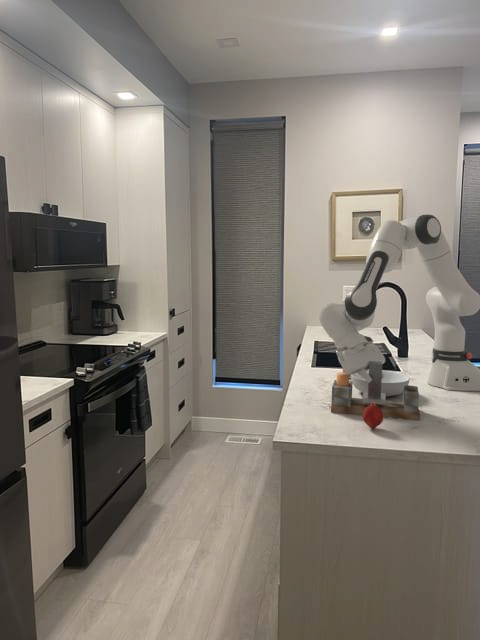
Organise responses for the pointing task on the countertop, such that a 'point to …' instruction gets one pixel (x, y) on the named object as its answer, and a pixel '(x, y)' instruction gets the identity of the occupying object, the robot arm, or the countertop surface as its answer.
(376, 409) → the onion
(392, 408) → the rail deck
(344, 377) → the gauge button
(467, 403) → the countertop surface
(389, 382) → the serving bowl
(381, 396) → the carriage
